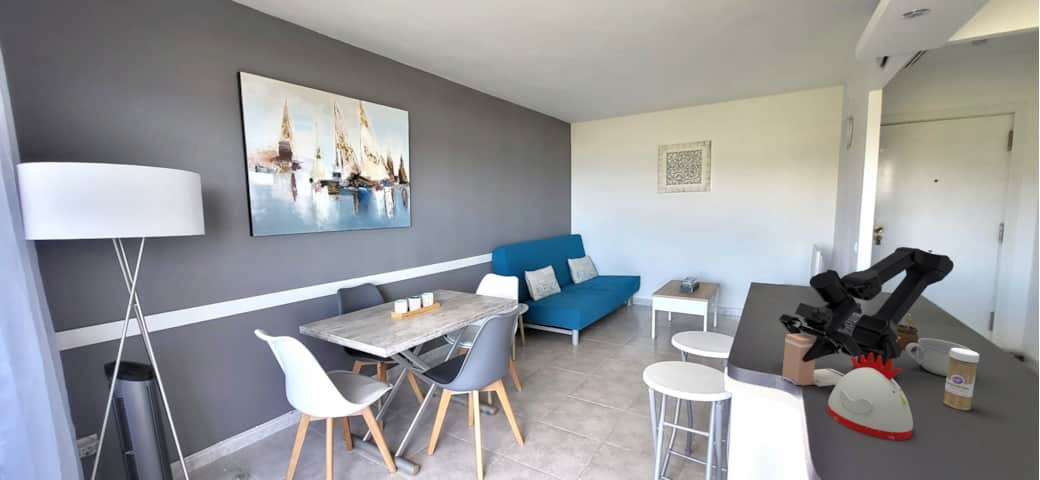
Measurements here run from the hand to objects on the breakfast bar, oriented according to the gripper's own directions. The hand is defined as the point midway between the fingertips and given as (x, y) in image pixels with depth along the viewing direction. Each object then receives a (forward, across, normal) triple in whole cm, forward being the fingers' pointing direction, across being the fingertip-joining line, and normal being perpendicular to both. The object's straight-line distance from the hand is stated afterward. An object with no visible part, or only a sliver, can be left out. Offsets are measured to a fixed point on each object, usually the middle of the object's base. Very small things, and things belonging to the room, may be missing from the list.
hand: (795, 357), depth 105 cm
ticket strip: (-3, 0, +12) cm, 12 cm away
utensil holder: (-36, -14, +46) cm, 60 cm away
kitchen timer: (+5, +19, +5) cm, 20 cm away
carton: (+4, 0, +6) cm, 7 cm away
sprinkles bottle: (-15, +18, +24) cm, 33 cm away
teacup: (-28, +2, +37) cm, 47 cm away
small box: (-23, -16, +32) cm, 43 cm away
